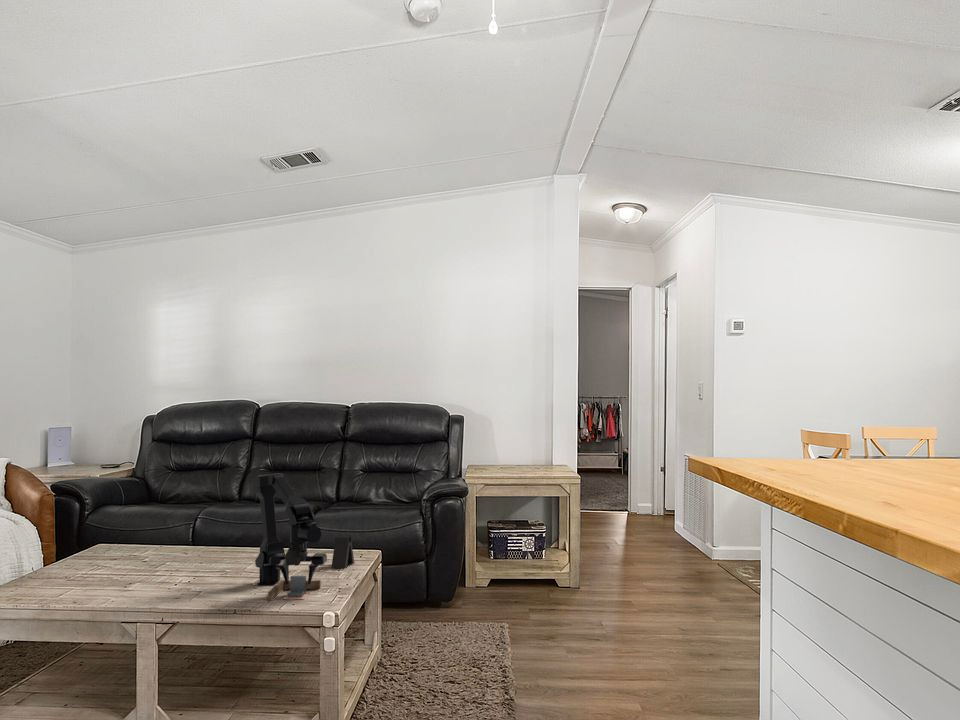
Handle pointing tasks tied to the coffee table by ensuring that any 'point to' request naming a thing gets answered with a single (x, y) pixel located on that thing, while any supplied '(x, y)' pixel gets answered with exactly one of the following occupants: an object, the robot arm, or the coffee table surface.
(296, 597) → the pad
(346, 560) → the phone stand
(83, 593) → the coffee table surface
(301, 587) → the angle bracket
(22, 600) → the coffee table surface
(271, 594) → the l-shaped wooden corner frame
